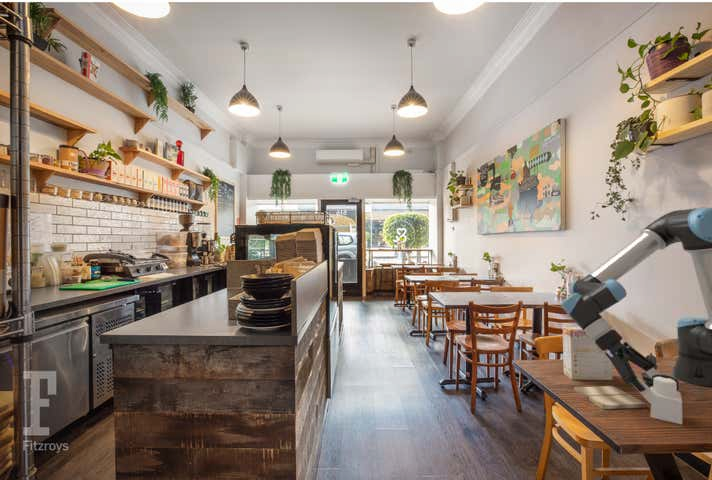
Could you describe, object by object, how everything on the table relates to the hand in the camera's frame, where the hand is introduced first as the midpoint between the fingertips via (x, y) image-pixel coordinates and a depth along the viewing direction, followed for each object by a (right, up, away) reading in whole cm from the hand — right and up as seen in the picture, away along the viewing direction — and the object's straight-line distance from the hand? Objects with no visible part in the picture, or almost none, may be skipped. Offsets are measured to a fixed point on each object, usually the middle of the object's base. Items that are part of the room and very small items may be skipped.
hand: (661, 394), depth 108 cm
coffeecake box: (-2, -7, +32) cm, 33 cm away
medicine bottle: (+1, -7, 0) cm, 7 cm away
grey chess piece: (+15, -6, +22) cm, 28 cm away
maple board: (-7, -7, +12) cm, 16 cm away
